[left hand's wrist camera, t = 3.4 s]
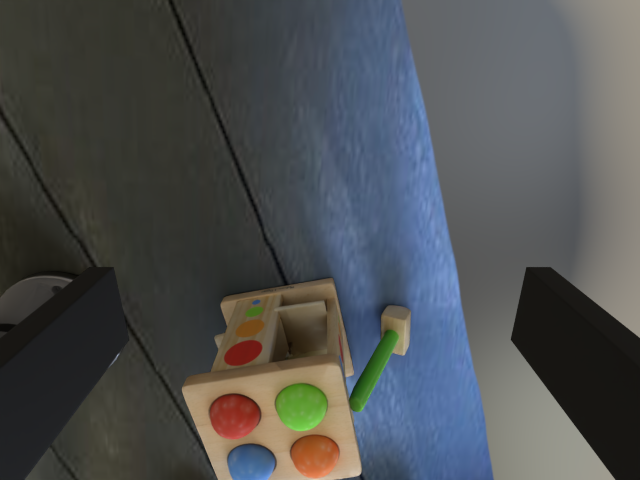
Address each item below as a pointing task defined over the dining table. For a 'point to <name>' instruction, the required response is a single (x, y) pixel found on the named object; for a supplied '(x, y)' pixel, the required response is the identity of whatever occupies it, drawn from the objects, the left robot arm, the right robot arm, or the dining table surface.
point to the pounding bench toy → (287, 385)
